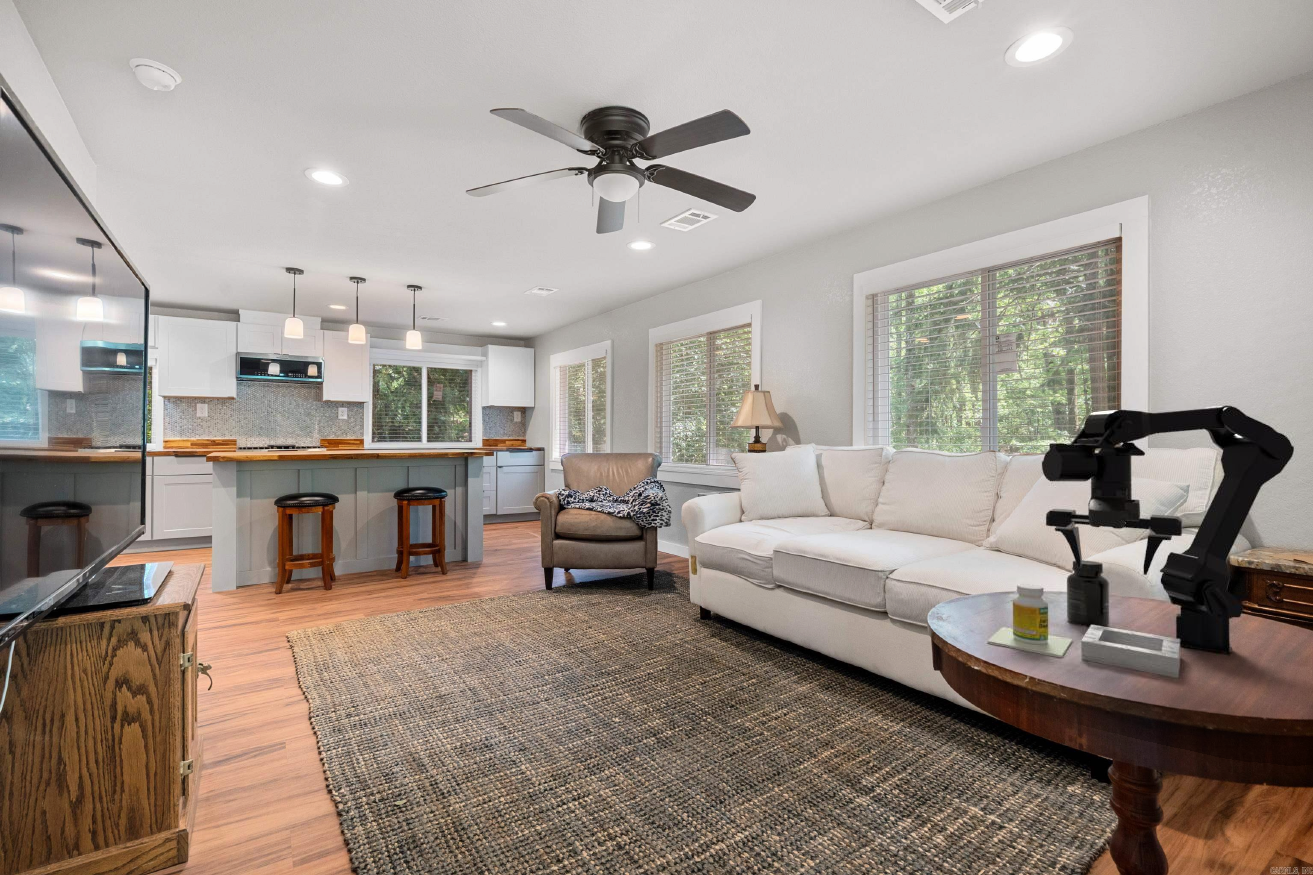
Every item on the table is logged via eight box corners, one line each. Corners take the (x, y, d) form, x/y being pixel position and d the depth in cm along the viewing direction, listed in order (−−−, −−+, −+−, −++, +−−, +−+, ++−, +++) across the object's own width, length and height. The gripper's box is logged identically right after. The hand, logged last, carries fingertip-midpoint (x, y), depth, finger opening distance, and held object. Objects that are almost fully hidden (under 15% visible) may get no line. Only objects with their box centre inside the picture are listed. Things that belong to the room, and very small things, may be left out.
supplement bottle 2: (1117, 629, 115) (1116, 566, 115) (1076, 627, 116) (1076, 564, 116) (1098, 619, 121) (1097, 559, 121) (1060, 617, 123) (1060, 558, 123)
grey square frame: (1180, 657, 100) (1180, 638, 100) (1178, 678, 91) (1178, 658, 91) (1091, 641, 108) (1091, 624, 108) (1081, 659, 99) (1081, 640, 99)
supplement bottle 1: (1017, 633, 111) (1017, 581, 111) (1052, 640, 107) (1051, 585, 107) (1008, 639, 107) (1008, 585, 107) (1043, 647, 103) (1043, 591, 103)
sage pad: (1072, 641, 107) (1072, 639, 107) (1061, 657, 99) (1061, 655, 99) (1002, 628, 115) (1002, 626, 115) (987, 643, 107) (987, 640, 107)
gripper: (1039, 481, 106) (1040, 570, 106) (1179, 486, 94) (1180, 587, 93) (1051, 478, 114) (1051, 561, 114) (1181, 483, 102) (1182, 575, 102)
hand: (1111, 570), depth 106 cm, fingers open, 9 cm apart
